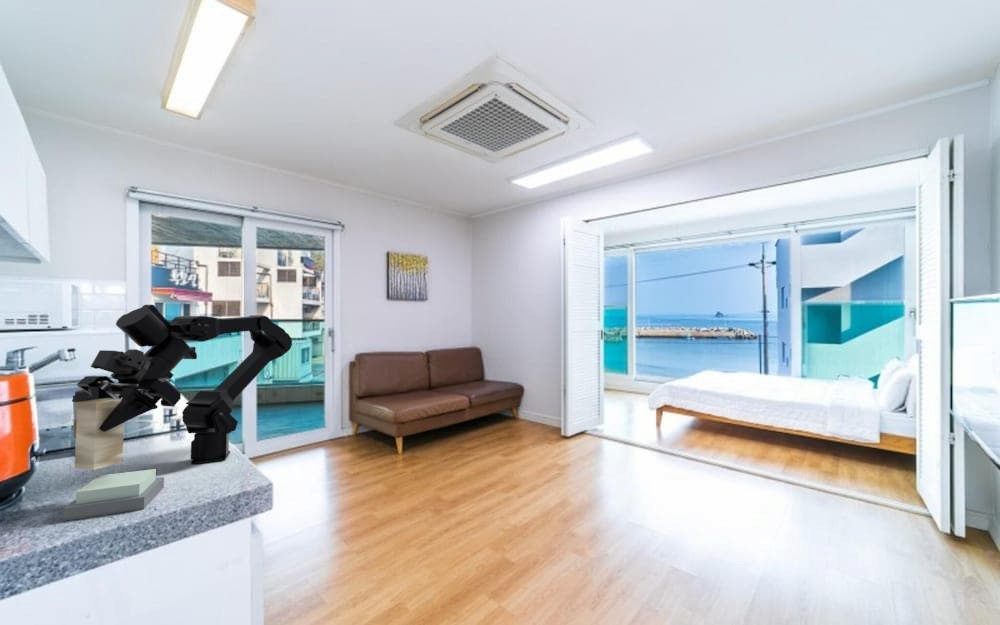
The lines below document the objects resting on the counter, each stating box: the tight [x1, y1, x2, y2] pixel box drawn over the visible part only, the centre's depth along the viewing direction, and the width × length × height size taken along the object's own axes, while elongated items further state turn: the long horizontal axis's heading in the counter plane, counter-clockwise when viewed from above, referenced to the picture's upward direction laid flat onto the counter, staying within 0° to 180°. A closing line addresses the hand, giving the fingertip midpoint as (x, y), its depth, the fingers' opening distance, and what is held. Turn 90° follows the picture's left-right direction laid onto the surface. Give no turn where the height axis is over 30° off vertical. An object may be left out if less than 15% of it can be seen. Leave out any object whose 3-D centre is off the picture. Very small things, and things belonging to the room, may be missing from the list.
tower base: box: [63, 468, 165, 522], centre depth 70 cm, size 10×10×4 cm
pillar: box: [74, 398, 125, 471], centre depth 72 cm, size 4×4×12 cm
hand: (91, 429), depth 71 cm, fingers closed on pillar, 4 cm apart
